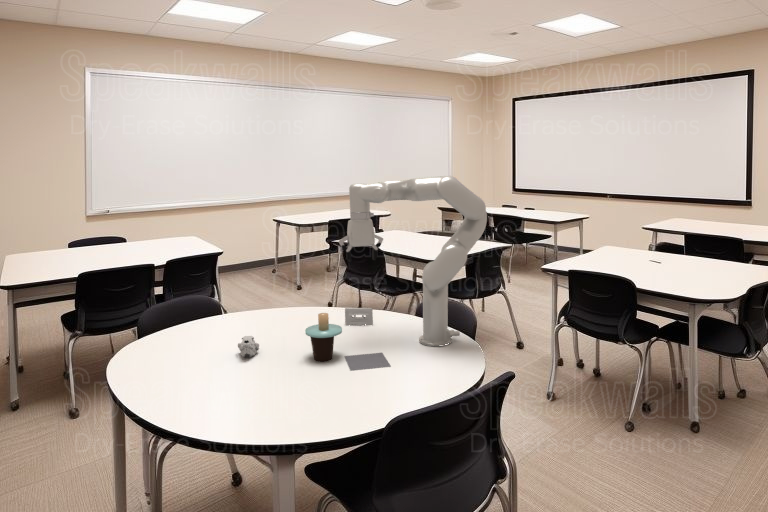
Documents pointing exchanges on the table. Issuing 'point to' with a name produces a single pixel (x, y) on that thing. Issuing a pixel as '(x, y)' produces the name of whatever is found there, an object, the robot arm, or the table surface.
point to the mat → (366, 361)
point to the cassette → (358, 320)
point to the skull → (248, 346)
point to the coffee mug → (322, 348)
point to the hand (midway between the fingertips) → (361, 260)
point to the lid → (323, 328)
